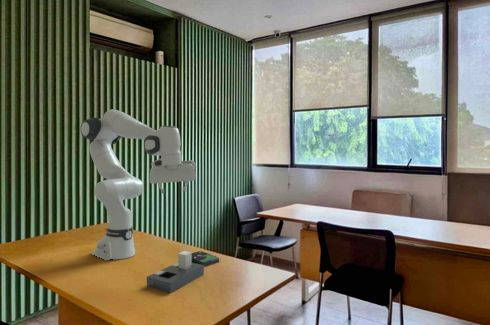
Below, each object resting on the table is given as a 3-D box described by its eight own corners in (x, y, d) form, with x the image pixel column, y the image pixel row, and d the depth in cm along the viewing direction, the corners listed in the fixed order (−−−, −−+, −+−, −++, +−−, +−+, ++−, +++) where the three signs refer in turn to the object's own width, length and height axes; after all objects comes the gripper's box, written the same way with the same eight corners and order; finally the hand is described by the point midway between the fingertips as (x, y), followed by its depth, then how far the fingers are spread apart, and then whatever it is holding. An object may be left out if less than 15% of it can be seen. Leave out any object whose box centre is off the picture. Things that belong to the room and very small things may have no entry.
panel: (146, 286, 136) (146, 276, 136) (181, 269, 155) (181, 260, 155) (170, 293, 130) (170, 282, 130) (203, 274, 150) (203, 264, 150)
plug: (178, 276, 147) (178, 253, 146) (184, 273, 151) (185, 250, 151) (185, 278, 145) (185, 255, 145) (192, 274, 149) (192, 252, 149)
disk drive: (183, 260, 169) (203, 268, 159) (183, 255, 169) (203, 262, 158) (200, 255, 176) (219, 262, 166) (200, 250, 176) (219, 256, 166)
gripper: (194, 160, 159) (196, 190, 159) (148, 163, 154) (150, 193, 154) (195, 159, 153) (197, 190, 152) (148, 162, 148) (150, 194, 148)
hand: (173, 192), depth 153 cm, fingers open, 8 cm apart
